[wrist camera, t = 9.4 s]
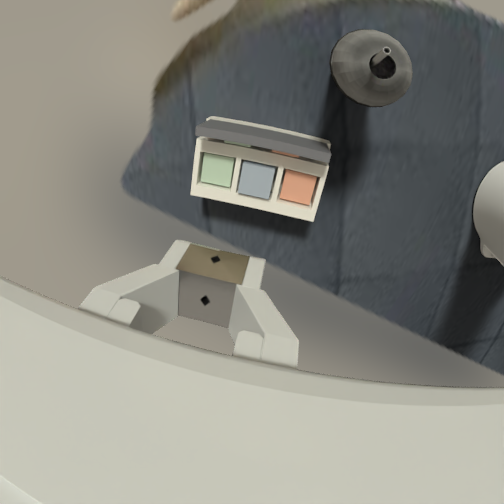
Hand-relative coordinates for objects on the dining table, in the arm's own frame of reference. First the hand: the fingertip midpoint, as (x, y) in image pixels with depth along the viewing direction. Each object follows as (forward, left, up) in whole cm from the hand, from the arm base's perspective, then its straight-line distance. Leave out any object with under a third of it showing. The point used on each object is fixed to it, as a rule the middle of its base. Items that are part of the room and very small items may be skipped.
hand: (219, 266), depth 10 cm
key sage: (+6, +6, -28) cm, 29 cm away
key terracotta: (-4, +6, -28) cm, 29 cm away
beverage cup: (-7, -9, -31) cm, 33 cm away
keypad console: (+1, +5, -31) cm, 31 cm away
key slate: (+1, +6, -27) cm, 27 cm away
